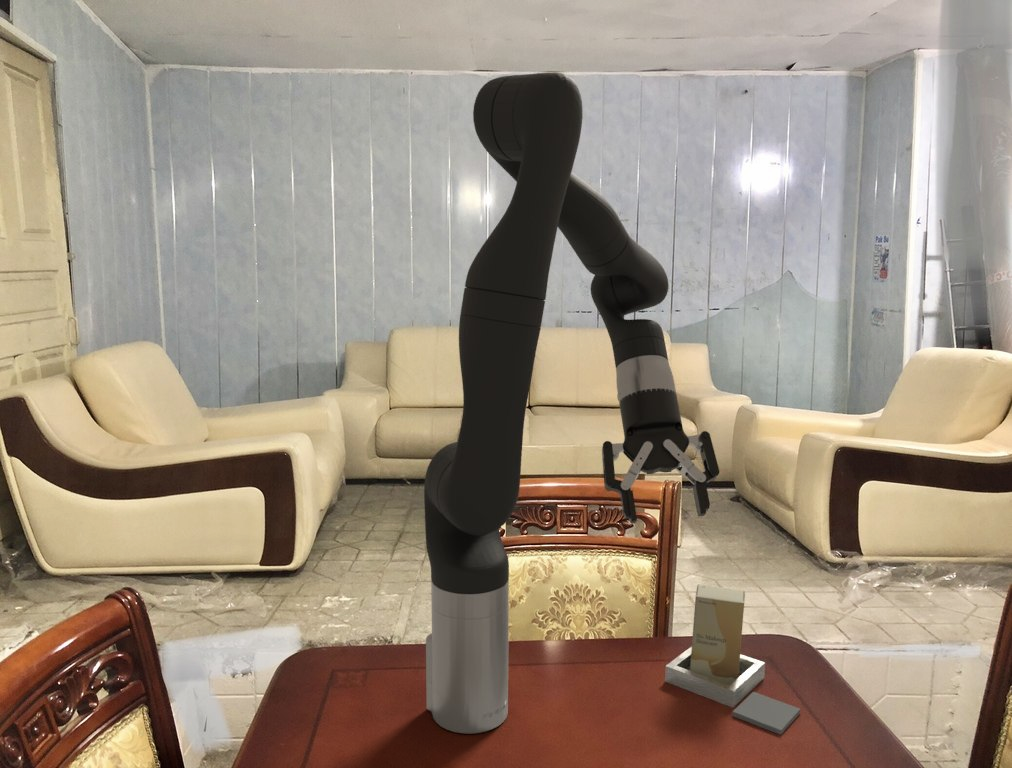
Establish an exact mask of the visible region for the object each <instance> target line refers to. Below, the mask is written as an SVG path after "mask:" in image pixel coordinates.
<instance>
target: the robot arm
mask: <svg viewBox="0 0 1012 768" xmlns="http://www.w3.org/2000/svg"><path fill="white" fill-rule="evenodd" d="M472 114H473V115H472V116H473V118H472V119H473V125H474V126H473V127H474V130H475V133H476V136H477V138H478V140H479V142H480V143H481V145H482V147H483V148H484V149H485V151H486V152H487V153H488V154H489V155H490V156H491V158H492V159H493V160H495V162H496V163H497V164H498V165H499V166H500V167H502V169H503V170H504V171H505V172H506V173H507V174H509V176H510V177H511V178H512V179H513V180H514V181H516V184H515V189H514V191H513V194H512V198H511V200H510V203H509V205H508V206H507V208H506V210H505V212H504V214H503V215H502V217H501V219H500V220H499V222H498V223H497V224H496V226H495V227H494V229H493V230H492V232H491V233H490V234H489V236H488V238H487V239H486V240H485V242H484V243H483V244H482V246H481V247H480V249H479V251H478V252H477V254H476V255H475V257H474V259H473V260H472V262H471V264H470V266H469V269H468V271H467V275H466V278H465V284H464V289H463V294H462V295H463V296H462V302H461V308H460V315H459V323H458V324H459V325H458V350H459V351H458V353H459V364H460V373H461V381H462V394H463V395H462V396H463V397H462V398H463V404H462V405H463V406H462V407H463V408H462V415H461V424H460V429H459V434H458V438H457V441H454V442H452V443H448V444H446V445H445V446H444V447H442V448H440V449H439V450H438V451H437V452H436V453H435V454H434V456H432V458H431V460H430V461H429V464H428V466H427V469H426V472H425V478H424V488H423V495H424V496H423V498H424V500H423V501H424V502H423V503H424V527H425V530H424V531H425V544H426V545H425V546H426V551H427V552H426V553H427V557H428V561H429V565H430V582H431V583H430V584H431V589H430V590H431V596H430V597H431V599H430V600H431V601H430V602H431V633H430V634H427V636H426V638H425V664H426V665H425V672H426V673H425V676H426V677H425V678H426V679H425V680H426V681H425V682H426V684H425V685H426V686H425V687H426V691H425V692H426V710H428V711H429V712H430V713H431V714H432V719H433V720H434V722H436V724H438V725H439V726H440V727H441V728H443V729H444V730H447V731H450V732H453V733H459V734H479V733H480V734H481V733H485V732H489V731H491V730H493V729H495V728H498V727H500V725H502V723H504V722H505V720H506V719H507V718H508V714H509V712H508V711H509V636H510V634H509V627H510V625H509V623H510V619H509V614H510V613H509V610H510V607H509V606H510V602H509V599H510V597H509V596H510V595H509V594H510V591H509V590H510V584H509V583H510V581H509V579H510V562H509V556H508V554H507V551H506V549H505V547H504V543H503V540H502V537H501V533H500V529H501V527H502V526H504V525H505V524H506V523H507V521H508V520H509V519H510V517H512V514H513V512H514V510H515V509H516V505H517V502H518V499H519V493H520V485H521V475H522V474H521V470H522V454H523V439H524V428H525V419H526V418H525V417H526V410H527V405H528V398H529V394H530V388H531V383H532V378H533V372H534V365H535V364H534V363H535V361H536V360H535V358H536V352H537V348H538V343H539V339H540V338H539V337H540V333H541V328H542V323H543V322H542V321H543V317H544V316H543V315H544V311H545V304H546V300H547V299H546V298H547V289H548V282H549V273H550V267H551V264H552V257H553V254H554V253H553V252H554V246H555V241H556V237H557V231H558V229H559V231H560V232H561V234H563V237H564V238H565V239H566V241H567V242H568V244H569V245H570V246H571V248H572V250H573V251H574V253H575V254H576V256H577V257H578V259H579V260H580V261H581V263H582V265H583V266H584V267H585V269H586V270H587V271H588V272H589V273H591V274H592V275H594V276H593V278H592V280H591V283H590V294H591V298H592V299H591V300H592V301H593V304H594V305H595V307H596V309H597V311H598V313H599V315H600V317H601V319H602V321H603V323H604V325H605V328H606V330H607V333H608V336H609V338H610V342H611V346H612V351H613V360H614V365H615V366H614V367H615V373H616V376H615V377H616V381H615V382H616V390H617V400H618V402H619V403H618V404H619V409H620V416H621V423H622V429H623V431H622V432H623V436H624V439H623V442H622V443H621V442H619V443H612V442H611V441H609V440H606V441H604V442H603V444H602V446H601V447H602V448H601V458H602V471H603V484H604V485H603V486H604V489H605V491H607V492H615V493H617V494H619V496H620V502H621V507H622V515H623V518H624V519H625V520H628V519H629V524H635V523H637V521H638V519H637V518H638V516H637V510H636V504H635V497H634V496H635V495H634V492H633V491H634V490H633V489H632V490H631V488H632V487H633V485H634V483H635V482H636V480H637V479H638V477H639V476H640V475H639V474H640V473H641V472H642V473H645V474H646V475H653V474H656V473H659V472H660V473H671V472H672V471H674V470H676V471H677V472H678V473H679V474H681V476H683V477H685V478H686V479H687V480H688V481H689V482H690V483H691V484H692V485H693V487H692V494H693V497H694V504H695V508H696V515H697V517H699V518H700V517H704V516H705V515H706V514H707V512H708V510H709V509H710V505H711V504H710V499H709V493H708V488H707V484H708V483H711V482H713V481H715V480H716V479H717V477H718V476H719V474H720V469H719V468H720V467H719V464H718V461H717V456H716V453H715V449H714V446H713V442H712V438H711V434H710V432H708V431H706V430H704V431H702V432H701V433H700V434H695V435H689V436H688V435H687V434H686V433H685V431H684V427H683V423H682V422H683V421H682V416H681V412H680V411H681V410H680V406H679V401H678V394H677V390H676V386H675V385H676V384H675V380H674V375H673V371H672V369H671V366H670V363H669V357H668V351H667V346H666V341H665V336H664V331H663V329H662V327H661V324H659V323H658V322H657V321H655V320H653V319H652V320H651V319H648V318H635V319H625V316H627V315H629V314H632V313H637V312H640V311H644V310H646V309H650V308H653V307H655V306H658V305H660V304H661V303H662V302H663V301H664V300H665V299H666V296H667V295H668V292H669V279H668V276H667V272H666V271H665V269H664V267H663V265H662V264H661V263H660V261H659V260H658V259H656V258H655V257H654V256H653V254H651V252H649V251H648V250H646V249H645V248H644V247H642V246H641V245H640V244H639V243H638V242H636V240H635V239H633V238H632V237H631V236H630V235H629V233H628V232H627V230H626V228H625V226H624V225H623V223H622V221H621V220H620V218H619V216H618V214H617V212H616V211H615V209H614V208H613V206H612V205H611V204H610V203H609V202H608V201H607V200H606V198H605V197H604V196H603V195H602V194H600V193H599V192H598V191H597V190H595V188H593V187H592V186H591V185H590V184H589V183H587V182H585V181H584V180H583V179H582V178H581V177H579V176H578V175H576V174H575V173H574V172H572V171H573V167H574V163H575V159H576V156H577V152H578V149H579V148H578V147H579V144H580V138H581V134H582V126H583V125H582V124H583V117H584V116H583V100H582V96H581V93H580V90H579V86H578V84H577V83H576V82H575V80H574V79H573V78H572V77H570V76H569V75H568V74H566V73H562V72H538V73H529V74H528V73H527V74H512V75H504V76H499V77H496V78H493V79H490V80H488V81H487V82H486V83H485V84H483V86H481V88H480V90H479V91H478V92H477V95H476V97H475V101H474V103H473V111H472ZM689 446H692V448H693V450H694V451H695V452H697V453H699V454H700V458H701V460H702V466H703V468H704V471H701V469H699V468H698V467H697V466H696V464H695V463H694V461H693V460H692V459H691V458H689V456H687V455H686V454H685V452H686V451H687V449H688V447H689ZM621 453H623V454H624V455H625V457H626V458H628V460H629V461H630V462H632V464H631V465H630V467H629V468H628V471H627V473H625V475H624V477H623V479H622V480H621V479H616V473H615V463H614V462H616V461H617V460H618V459H619V456H620V454H621Z"/></svg>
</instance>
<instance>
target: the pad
mask: <svg viewBox="0 0 1012 768" xmlns="http://www.w3.org/2000/svg"><path fill="white" fill-rule="evenodd" d="M800 715H801V708H799V707H797V706H794V705H791V704H788V703H786V702H783V701H780V700H777V699H775V698H771V697H770V696H767V695H763V694H762V693H761V694H760V693H758V692H755V691H753V692H751V693H750V694H749V695H748V696H747V697H746V698H745V699H744V700H743V701H742V702H741V703H740V704H739V705H738V706H737V707H736V708H734V709H733V710H732V717H734V718H737V719H740V720H741V721H745V722H747V723H750V724H752V725H754V726H757V727H759V728H762V729H765V730H767V731H770V732H772V733H775V734H777V735H780V736H781V735H782V734H783V733H784V732H785V731H786V730H787V729H788V728H789V726H790V725H791V724H792V723H793V722H794V721H795V720H796V718H798V716H800Z"/></svg>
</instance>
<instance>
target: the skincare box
mask: <svg viewBox="0 0 1012 768" xmlns="http://www.w3.org/2000/svg"><path fill="white" fill-rule="evenodd" d="M745 597H746V591H745V590H742V589H737V588H736V589H735V588H727V587H725V586H724V587H723V586H717V585H716V586H713V585H706V584H700V583H698V584H697V585H696V590H695V603H694V610H693V611H694V613H693V623H692V624H693V625H692V626H693V627H692V639H691V640H692V641H691V646H692V651H691V665H690V671H692V672H695V673H698V674H700V675H703V676H706V677H709V678H711V679H714V680H717V681H720V682H722V683H725V684H728V685H731V684H732V683H733V682H734V681H735V680H736V679H737V678H739V675H740V673H739V661H740V654H741V648H742V647H741V645H742V638H743V626H744V625H743V623H744V613H745V612H744V610H745V601H746V598H745Z"/></svg>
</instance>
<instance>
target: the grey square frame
mask: <svg viewBox="0 0 1012 768" xmlns="http://www.w3.org/2000/svg"><path fill="white" fill-rule="evenodd" d="M691 651H692V645H691V646H690V647H688V649H686V650H684V652H682V653H681V654H679V655H678V656H677V657H676V658H674V659H672V660H671V661H670V662H669V663H667V664H666V665H665V672H664V674H665V675H664V676H665V677H664V682H665V683H668V684H671V685H673V686H675V687H678V688H680V689H683V690H686V691H689V692H691V693H693V694H696V695H698V696H701V697H705V698H707V699H709V700H711V701H714V702H717V703H719V704H722V705H724V706H728V707H730V708H732V709H733V708H735V706H737V704H739V702H741V701H742V700H743V699H744V698H745V697H746V696H747V695H748V694H749V693H750V692H752V691H753V689H754V688H755V687H756V686H758V685H759V684H760V683H761V682H762V680H764V679H765V673H766V671H765V670H766V662H764V661H762V660H759V659H756V658H753V657H751V656H747V655H744V654H741V653H740V661H739V676H738V678H737V679H736V680H735V681H734V682H733V683H732V684H731V685H728V684H725V683H722V682H720V681H717V680H714V679H711V678H709V677H706V676H703V675H700V674H698V673H695V672H692V671H690V665H691ZM740 674H741V675H740Z"/></svg>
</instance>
